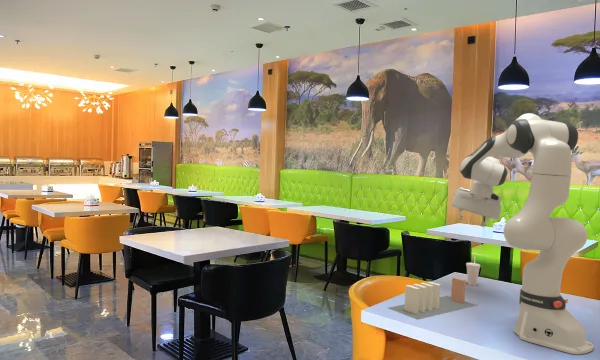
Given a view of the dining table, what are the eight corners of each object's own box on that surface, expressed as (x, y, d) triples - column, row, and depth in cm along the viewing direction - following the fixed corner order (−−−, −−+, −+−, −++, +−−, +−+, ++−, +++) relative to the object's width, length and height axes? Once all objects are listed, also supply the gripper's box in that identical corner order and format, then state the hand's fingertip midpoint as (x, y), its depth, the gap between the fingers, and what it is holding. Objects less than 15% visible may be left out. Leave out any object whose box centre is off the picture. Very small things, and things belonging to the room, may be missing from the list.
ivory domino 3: (421, 306, 170) (422, 282, 169) (432, 309, 166) (433, 285, 165) (418, 306, 169) (420, 283, 168) (429, 310, 165) (431, 286, 164)
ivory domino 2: (414, 307, 167) (415, 283, 167) (425, 311, 163) (426, 287, 163) (411, 308, 166) (413, 284, 166) (422, 312, 162) (424, 287, 162)
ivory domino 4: (428, 304, 172) (429, 281, 172) (439, 308, 168) (440, 284, 168) (425, 305, 171) (426, 281, 171) (436, 309, 167) (437, 285, 167)
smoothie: (481, 286, 207) (483, 256, 207) (467, 285, 207) (469, 255, 207) (476, 283, 214) (478, 254, 213) (462, 282, 214) (464, 253, 213)
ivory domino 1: (407, 309, 165) (408, 284, 165) (418, 313, 161) (419, 288, 161) (404, 309, 164) (405, 285, 164) (415, 313, 160) (416, 288, 160)
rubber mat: (477, 306, 175) (477, 305, 175) (417, 321, 154) (417, 319, 154) (447, 297, 186) (447, 295, 186) (387, 309, 165) (387, 307, 165)
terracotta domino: (453, 299, 181) (454, 277, 181) (464, 302, 177) (465, 280, 177) (451, 299, 180) (452, 277, 180) (461, 303, 176) (463, 280, 176)
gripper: (456, 185, 198) (446, 214, 197) (505, 199, 190) (495, 230, 189) (456, 187, 204) (447, 216, 203) (504, 201, 196) (494, 231, 195)
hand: (471, 223), depth 196 cm, fingers open, 8 cm apart
